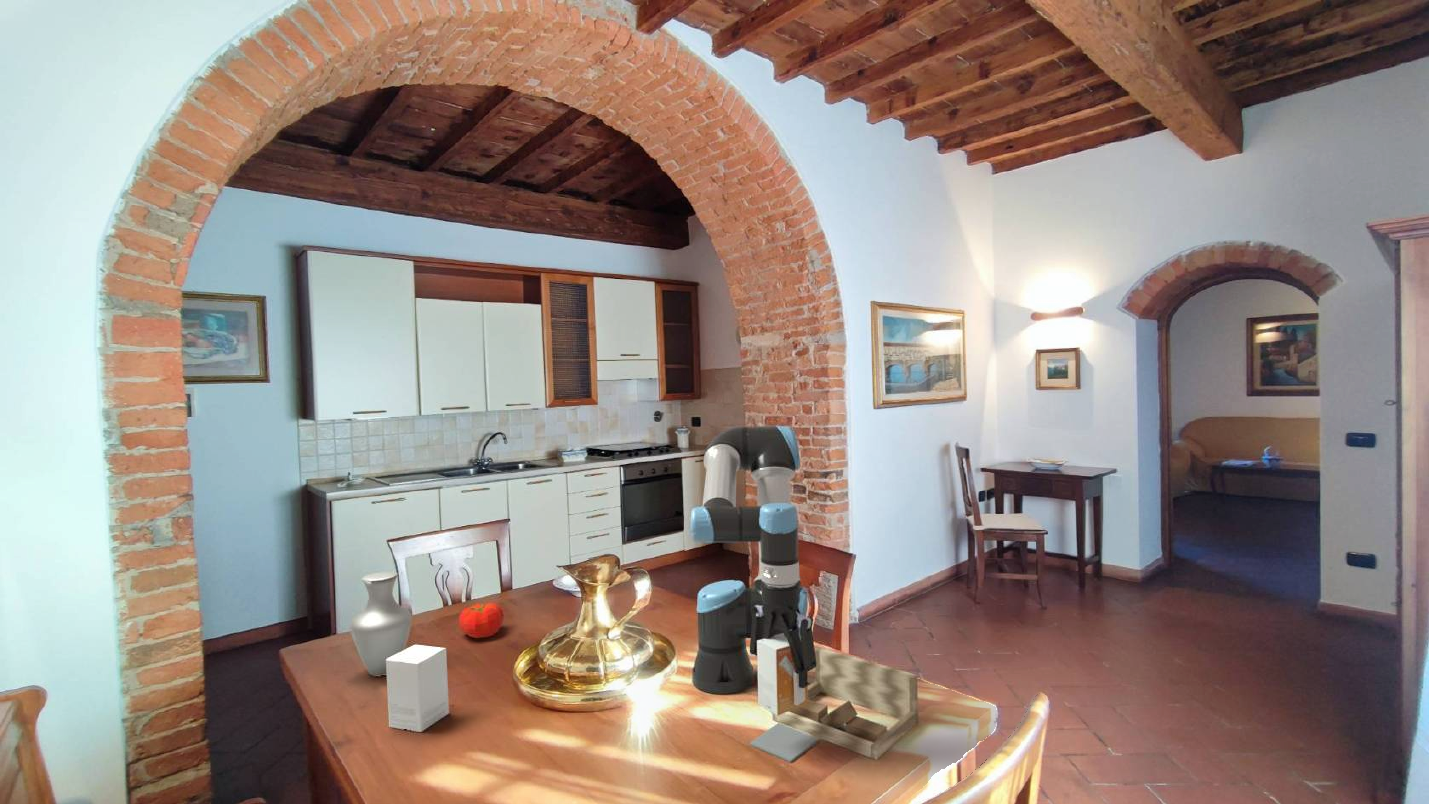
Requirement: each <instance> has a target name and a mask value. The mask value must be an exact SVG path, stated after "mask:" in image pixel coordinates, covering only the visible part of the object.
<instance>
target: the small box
mask: <svg viewBox="0 0 1429 804" xmlns="http://www.w3.org/2000/svg"><path fill="white" fill-rule="evenodd" d="M800 640H801V637H800ZM756 659H757V698H758V699H757V700H758V701H757V702H758V705H759V706H761V707H762V708H764V709H766V710H767V711H769V712H770V713H771V714H772V713H774V714H776V715H777V716H778V715H781V714H783V713H786V712H788V711H791V710H794V709H796V708H799V707H802V706H806V705H808V686H809V684H808V685H807V686H806V687H805V701H804V702H802V703H801V704H799V705H798V706H797V705H794V676H793V671H795V670H796V669H797V668H796V665H795V662H794V659H793V656H792V653H791V649H790V645H789V643H788V640H787V638H786V637H785V636H784V633H782V634H778V635H775V636H773V637H771V638H769V639H761V640H758V641H757V656H756Z"/></svg>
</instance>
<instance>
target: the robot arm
mask: <svg viewBox="0 0 1429 804" xmlns="http://www.w3.org/2000/svg"><path fill="white" fill-rule="evenodd" d="M800 457H801V456H800V449H799V442H798V439H797V435H796V433H795V430H794V429H793V428H792V426H786V425H785V426H784V425H783V426H782V425H771V426H768V425H767V426H736V427H732V428H729V429H726V430H723V432H721V433H719V434H718V435H716V437H714V438H713V439H712V440H711V441H710V443H709V444H708V445H707V447H706V449H705V451H704V454H703V466H704V468H705V479H704V490H703V498H702V506H697V507H694V508H692V510H691V513H690V534H691V535H690V536H691V539H692V540H693V541H694V543H705V544H706V543H707V544H712V543H713V544H714V543H758V563H759V565H758V566H759V567H758V568H759V569H758V570H759V574H758V575H757V576H756V577H755V578H754V580H753V587H752V588H751V587H750V588H749V587H748V588H747V587H746V585H745V583H744V582H743V581H741V580H735V579H731V580H730V579H728V580H721V581H715V582H713V583H712V582H711V583H710V584H707V585H706V586H704V587H702V588H701V589H700V590H699V592H698V593H697V601H696V602H697V603H696V604H697V606H696V613H697V637H698V638H697V640H698V643H697V644H698V648H697V649H698V650H697V653H696V656H695V660H694V664H693V667H692V671H691V679H692V680H691V682H692V684H693V686H694V687H695V688H697V689H698V690H699V691H702V692H706V693H709V694H718V695H719V694H720V695H721V694H722V695H723V694H725V695H726V694H733V693H734V694H735V693H738V692H742V691H744V690H746V689H749V688H750V687H751V686H752V685H753V684H754V683H755V670H754V669H755V668H754V667H753V665H752V663H751V659H750V656H749V653H750V655H754V656H755V657H757V641H758V640H761V639H769V638H771V637H773V636H775V635H778V634H782V633H784V636H785V637H786V638H787V640H788V643H789V645H790V649H791V653H792V656H793V659H794V662H795V665H796V668H797V669H796V670H795V671H793V676H794V705H797V706H798V705H799V704H801V703H802V702H804V701H805V687H806V686H807V685H808V686H809V678H808V677H809V675H808V673H809V672H810V671H812V670H813V669H815V667H816V666H817V664H816V656H815V643H814V636H813V635H814V633H813V625H814V618H813V616H807V613H808V592H809V591H808V588H807V587H805V586H802V580H801V579H800V563H799V562H800V561H799V518H798V508H797V507H796V506H795V505H794V504H792V501H791V500H792V499H791V480H793V478H794V477H796V476H795V475H796V471H797V470H799V469H800V468H801V458H800ZM738 471H750V477H751V479H753V480H754V481H755V482H756V487H757V488H756V493H757V505H756V506H755V505H753V506H751V505H750V506H749V505H748V506H745V505H744V506H742V505H741V506H737V505H736V504H737V472H738ZM800 638H801V640H800ZM747 639H750V641H749V642H750V643H749V653H748V649H747Z"/></svg>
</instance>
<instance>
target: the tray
mask: <svg viewBox="0 0 1429 804" xmlns="http://www.w3.org/2000/svg"><path fill="white" fill-rule="evenodd" d="M814 649H815V656H816V664H817V666H816V667H815V668H814V670H815V681H813V682H811V683H810V684H808V700H811V699H813V698H814V697H816V696H817V695H819V694H824V695H827V696H829V697H833V698H835V699H838V700H842V701H844V702H848V701H850V702H851V704H853V705H857V706H860V707H863V708H866V709H868V710H872V711H875V712H878V713H881V714H884V715H886V716H890V717H893V718H895V719H899V720H898V721H897V722H896V723H894V725H892V726H890V728H888V729H887V731H886V732H885V733H884V734H883V735H882V736H881V737H880V738H878V739H877V740H876V741H875V742H874V743H873V742H871V741H868V740H865V739H862V738H860V737H857V736H854V735H851V734H849V733H846V731H842V729H839V728H837V729H835V728H832V727H830V726H827V725H824V724H821V723H819V722H816V721H813V720H811V719H808V718H805V717H802V716H800V715H797V714H794V713H792V712H790V711H788V712H786V713H783V714H781V715H778V716H777V715H776V714H774V713H772V712H771V714H772V721H774V722H777V723H780V724H782V725H785V726H788V727H790V728H793V729H795V730H798V731H801V732H803V733H806V734H808V735H811V736H814V737H816V738H819V739H821V740H824V741H826V742H830V743H832V744H834V745H837V746H839V747H843V748H845V749H847V750H850V751H852V752H855V753H857V754H861V755H863V756H866V757H868V758H871V759H873V760H876V761H877V760H878V759H880V757H882V756H883V755H884V754H885V753H886V752H887V751H888V750H890V748H891V747H892V746H893V745H895V744H896V743H895V742H896V741H897V742H898V741H899V740H900V739H901V738H902V737H903V736H904V735H905V734H906V733H908V732H909V731H910V730H911V729H912V728H913V727H914V726H915V725H917V723H919V709H918V707H919V706H918V705H919V703H918V702H919V701H918V700H919V699H918V695H919V694H918V674H916V673H913V672H908V671H905V670H902V669H898V668H894V667H890V666H887V665H884V664H880V663H876V662H874V661H873V662H872V661H870V660H867V659H862V658H858V657H854V656H852V655H849V654H845V653H841V652H837V651H833V650H830V649H827V648H823V647H819V646H817V647H816V648H815V647H814ZM909 729H910V730H909ZM908 730H909V731H908ZM902 735H903V736H902ZM901 736H902V737H901ZM900 737H901V738H900ZM884 752H885V753H884ZM883 753H884V754H883ZM882 754H883V755H882Z"/></svg>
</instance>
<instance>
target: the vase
mask: <svg viewBox="0 0 1429 804" xmlns="http://www.w3.org/2000/svg"><path fill="white" fill-rule="evenodd" d="M398 575H399V574H398V573H397V572H396V571H382V572H381V571H380V572H378V571H377V572H374V573H371V574H370V573H369V574H366V575H365V576H362V577H361V579H362V581H363V583H364V586H365V588H366V591H367V594H368V600H367V603H366V605H365V608H364V609H363V610H362V611H361V612H359V613H358V614H357V615H356V616H355V617H354V618H353V619H352V620H351V622H350V627H349V628H350V634H351V637H352V639H353V642H354V644H355V648H356V650H357V651H358V654H359V657H360V660H361V661H362V663H363V664H364V665H363V666H365V669H366V670H367V672H368V673H369V675H370V674H371V675H383V674H387V672H386V659H388V658H389V657H391V656H393V655H395V654H397V653H400V652H402V651H404V650H406V648H407V647H406V646H407V643H408V640H409V636H410V634H411V633H410V632H411V628H412V625H413V624H412V623H413V615H412V613H411V611H410V610H408V608H406V607H404V606H402V605H400V604H398V603H397V602H396V600H395V598H394V596H393V590H394V587H395V582H396V580H397V577H398Z"/></svg>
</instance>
